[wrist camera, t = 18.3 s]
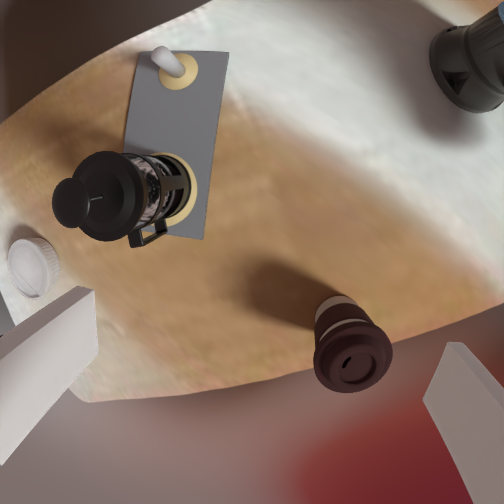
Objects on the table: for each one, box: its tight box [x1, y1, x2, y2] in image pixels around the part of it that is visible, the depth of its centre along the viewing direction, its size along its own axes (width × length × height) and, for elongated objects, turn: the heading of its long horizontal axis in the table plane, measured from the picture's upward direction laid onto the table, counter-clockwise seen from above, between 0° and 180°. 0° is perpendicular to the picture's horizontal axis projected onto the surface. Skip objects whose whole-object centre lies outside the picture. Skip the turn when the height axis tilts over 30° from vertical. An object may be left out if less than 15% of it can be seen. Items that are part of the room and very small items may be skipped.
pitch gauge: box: [123, 46, 229, 240], centre depth 40 cm, size 14×28×9 cm, turn 172°
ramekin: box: [7, 238, 60, 300], centre depth 49 cm, size 11×11×5 cm
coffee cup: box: [313, 296, 393, 393], centre depth 42 cm, size 10×10×15 cm
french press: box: [52, 151, 192, 248], centre depth 34 cm, size 12×9×23 cm
